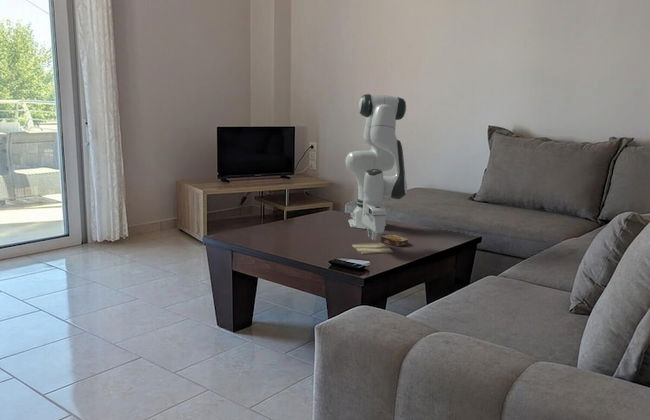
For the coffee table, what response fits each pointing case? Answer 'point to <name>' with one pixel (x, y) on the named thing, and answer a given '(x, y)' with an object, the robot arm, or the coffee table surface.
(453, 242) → the coffee table surface
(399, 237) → the tin
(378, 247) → the mat
